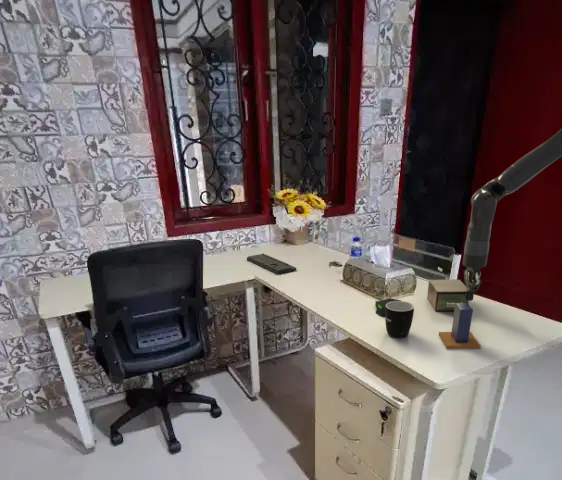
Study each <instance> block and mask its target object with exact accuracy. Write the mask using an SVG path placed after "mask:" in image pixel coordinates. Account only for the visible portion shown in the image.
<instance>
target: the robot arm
mask: <svg viewBox="0 0 562 480" xmlns="http://www.w3.org/2000/svg"><path fill="white" fill-rule="evenodd" d="M561 157H562V127H561V128H560V129H559V130H558V131H557V132H556V133H555V134H554V135H552V136H551V137H550V138H548V139H547V140H546V141H545V142H543V143H541V144H540V145H539V146H537V147H535V148H534V149H532V150H531V151H529V152H528V153H526V154H525V155H523V156H521V157H520V158H518V160H516V161H515V162H514V163H512V164H511V165H509V167H507V168H506V169H504V171H502V172H501V173H500V174H498V175H497V177H494V178H493V179H492V180H490V181H488V182H487V183H486V184H484V185H483V186H481V187H480V188H478V189H477V190H476V191H475V192H474V193H473V195H472V196H471V199H470V204H471V205H470V206H471V213H470V221H469V223H468V226H467V232H466V240H465V243H464V249H463V257H462V266H463V267H465V268H466V269H464V270H463V280H464V282H463V283H464V285H465V286H466V289H467V291H466V298H465V299H466V300H467V301H469V302H472V301H473V300H474V296H475V292H477V291H478V290H479V288H480V286H481V285H482V283H483V279H480V278H481V275H482V272H481V269H482V268H485V267H486V266H487V265H488V264H487V263H488V257H489V251H490V239H491V233H492V224H493V221H494V217H495V213H496V209H497V204H498V202H499V201H500V200H501V199H503V198H505V196H507V195H510V194H512V193H515V191H518V190H519V189H520V188H521V187H523V186H524V185H526V184H527V183H528V182H529V181H531V180H532V179H533V178H534V177H536V176H537V175H538V174H540V173H541V172H542V171H544V169H546V168H548V166H550V165H551V164H553V163H554V162H556V161H557V160H558V159H561Z"/></svg>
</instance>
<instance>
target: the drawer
mask: <svg viewBox="0 0 562 480" xmlns="http://www.w3.org/2000/svg"><path fill="white" fill-rule="evenodd" d="M465 298H466V294H465V293H458V294H438V302H437V310H455V304H456V303H468V304H469V302H468V301H467V300H466V299H465Z"/></svg>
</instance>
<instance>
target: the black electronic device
mask: <svg viewBox="0 0 562 480" xmlns="http://www.w3.org/2000/svg"><path fill="white" fill-rule="evenodd" d="M392 301H402V300H401V299H396V298H392V297H389V298H385V299H382V300H375V301H374V302H375V303H374V305H375V308H376V310H375V313H376V315H377V316H379V317H382V318H385V307H386V304H387V303H389V302H392Z"/></svg>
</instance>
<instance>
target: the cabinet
mask: <svg viewBox="0 0 562 480" xmlns="http://www.w3.org/2000/svg"><path fill="white" fill-rule="evenodd" d="M466 291H467V289H466V286H465V283H464V282H463V281H461V279H429V280H428V285H427V293H426V294H427V296H426V299H427V301H428V302H429V304H430V306H431V308H432V309H433V311H434V312H454V311H455V310H437V302H438V294H458V293H465V294H466ZM469 302H470V301H468V303H469Z"/></svg>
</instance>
